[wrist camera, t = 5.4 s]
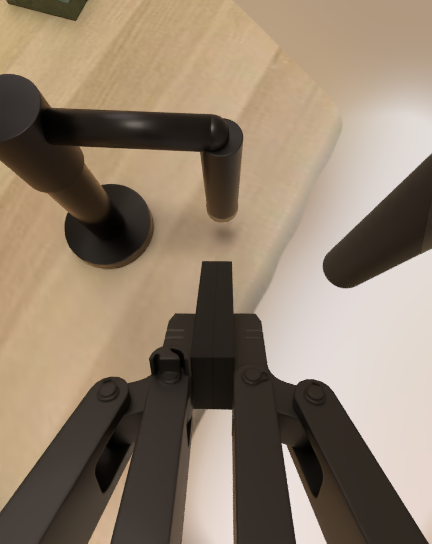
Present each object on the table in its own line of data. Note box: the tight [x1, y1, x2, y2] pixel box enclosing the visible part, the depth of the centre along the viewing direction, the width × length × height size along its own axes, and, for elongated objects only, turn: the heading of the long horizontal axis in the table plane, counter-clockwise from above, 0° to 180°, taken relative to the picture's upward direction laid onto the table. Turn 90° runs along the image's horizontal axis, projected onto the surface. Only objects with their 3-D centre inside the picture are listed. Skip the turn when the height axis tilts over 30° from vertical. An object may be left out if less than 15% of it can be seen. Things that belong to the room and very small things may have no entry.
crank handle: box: [0, 74, 243, 222], centre depth 23 cm, size 16×4×12 cm, turn 86°
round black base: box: [48, 164, 153, 269], centre depth 29 cm, size 9×9×12 cm
